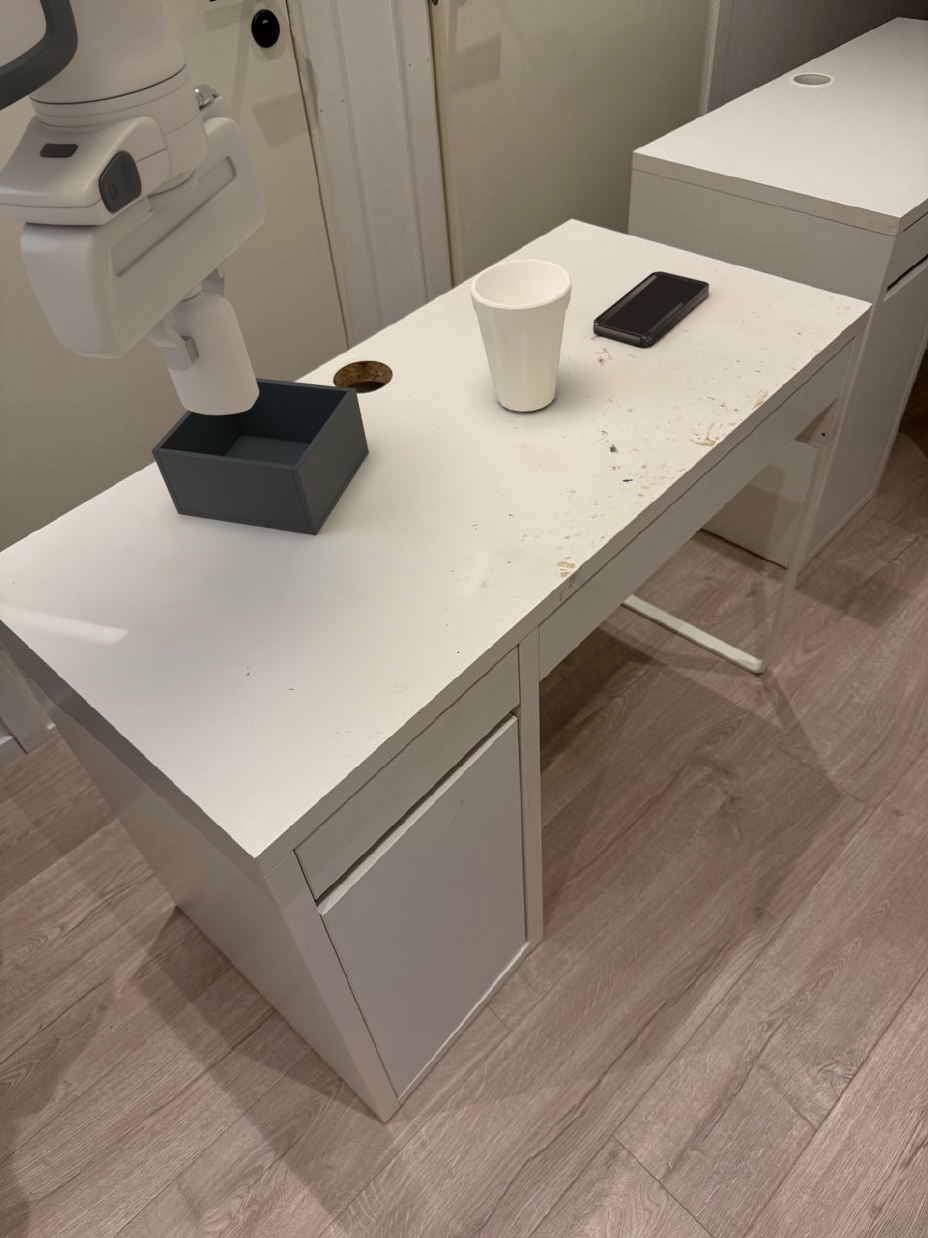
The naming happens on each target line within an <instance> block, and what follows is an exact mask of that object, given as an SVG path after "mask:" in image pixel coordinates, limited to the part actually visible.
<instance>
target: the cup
mask: <svg viewBox="0 0 928 1238" xmlns="http://www.w3.org/2000/svg"><path fill="white" fill-rule="evenodd" d="M572 287H573V283H572V275H571V274H570V273H569V272H568V271H567V270H565V268H563V266H561V265H558V264H555V263H553V262H550V261H547V260H539V259H531V258H530V259H529V258H528V259H515V260H509V261H505V262H501V263H497V264H493V265H492V266H489V267H488V268H486V269H484V270H482V271H480V272H479V273H478V274H477V276H475V278H474V279H473V280H472V281H471V282H470V290H469V291H470V297H471V298H470V299H471V302H472V307H473V310H474V312H475V314H476V318H477V322H478V326H479V331H480V334H481V339H482V342H483V347H484V350H485V355H486V359H487V362H488V366H489V371H490V375H491V379H492V383H493V387H494V391H495V395H496V400H497V402H498V403H499V404H500V405H501V406H502V407H504V408H506V409H508V410H509V411H515V412H534V411H537V410H540V409H543V408H545V407H546V406H548V405H549V404H551V403H552V402H553V401H554V399H555V398H556V389H557V381H558V372H559V366H560V357H561V351H562V350H561V349H562V344H563V343H562V342H563V335H564V328H565V320H566V312H567V310H568V308H569V305H570V303H571V297H572Z"/></svg>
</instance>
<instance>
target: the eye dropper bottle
mask: <svg viewBox="0 0 928 1238" xmlns="http://www.w3.org/2000/svg"><path fill="white" fill-rule="evenodd" d="M201 288H202V286H201V283H200V284H198V285H197V286H196V287H195V288H194V289H193V290H192V291H191V292H190V293H189V294H188V295H187V296H186V297H185V298H184V299H183V300H182V301H180V302H179V303H178V304H177V305H176V306H175V307H174V308H173V309H172V311H173V314H174V317H175V320H176V322H175V324H174V325H171V327H172V328H173V329H174V330H175V331H176V332H177V333H178V334H179V336H180V337H182V336H187V337H192V338H193V341H194V344H195V350H196V351H197V352H198V355H199V356H198V359H197V360H196V361H195V362H194V363H193V365H192V366H191V367H190V368H189V369H188V370H187V371H179V370H171V369H170V368H168V367H167V370H168V371H169V375H170V377H171V380H172V383H173V385H174V387H175V390H176V392H177V395H178V398H179V400H180V403H181V405H182V406H183V407H184V409H185V410H186V411H187V410H189V411H192V412H196V413H200V414H206V415H227V414H234V413H240V412H244V411H247V410H249V409H250V408H251V407H252V406H253V405H254V403H255V401H256V400H257V398H258V396H259V389H258V385H257V382H256V379H255V378H256V375H255V373H254V370H253V366H252V364H251V360H250V357H249V354H248V350H247V347H246V344H245V340H244V337H243V334H242V331H241V328H240V325H239V321H238V318H237V316H236V313H235V309H234V307H233V305H232V304H231V302H230V301H229V299H228V300H226V299H225V298H223V297H222V296H220V295H218V294H215V293H213V292H210V291H207V290H204V289H201Z"/></svg>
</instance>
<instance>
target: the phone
mask: <svg viewBox="0 0 928 1238" xmlns="http://www.w3.org/2000/svg"><path fill="white" fill-rule="evenodd" d="M709 291H710V283H708V282H707V281H704V280H700V279H696V278H691V277H687V276H683V275H679V274H675V273H671V272H666V271H653V272H651V273H650V274H648V275H647V276H646V277H645V278H643V279H642V280H641V281H640V282H639V283H638V284H636V285H635V286H633V288H631V289H630V290H629V291H628V292H627V293H625V294H624V295H622V297H620V298H619V299H618V300H617V301H615V302H614V303H613V304H611V306H609V307H608V308H607V309H605V310H604V311H603V312H602V313H601V314H599V315H597V317H596V318H595V319H593V324H592V325H593V329H592V330H593V333H595V335H598V336H602V337H605V338H608V339H613V340H616V341H619V342H623V343H625V344H629V345H633V346H637V347H641V348H648V347H651V346H653V345H655V343H657V341H659V340H660V339H662V337H663V336H664V335H666V334H667V333H668V332H669V331H670V330H671V329H673V327H675V326H676V325H677V324H678V323H679V322H680V321H681V320H683V318H685V317H686V316H687V315H688V314H689V313H690V312H691V311H692V310H694V309H695V308H696V307H698V305H699V304H700V303H702V302H703V301H704V300H705V299H706V298H707V297H708V296H709Z"/></svg>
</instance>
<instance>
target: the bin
mask: <svg viewBox="0 0 928 1238" xmlns="http://www.w3.org/2000/svg"><path fill="white" fill-rule="evenodd" d="M255 379H256V382H257V385H258V389H259V396H258V398H257V400H256V401H255V403H254V405H253V406H252V407H251V408H250V409H249V410H247V411H244V412H240V413H234V414H227V415H206V414H200V413H196V412H192V411H189V410H187V409H186V411H185V413H183V415H182V416H181V417H180V418H179V419H178V420H177V421H176V423H175V424H174V425H173V426H172V427H171V428H170V429H169V430H168V431H167V432H166V433H165V435H164V436H162V438H161V439H160V441H158V443H157V444H156V445H155V446H154V447H153V448H152V449H151V454H152V456H153V459H154V460H155V463H156V465H157V468H158V470H159V473H160V475H161V477H162V479H163V482H164V484H165V486H166V489H167V492H168V494H169V496H170V499H171V501H172V502H173V506H174V508H175V510H176V512H177V514H180V515H185V516H191V517H197V518H203V519H212V520H215V521H216V520H217V521H222V522H223V521H224V522H230V523H236V524H242V525H243V524H244V525H249V526H255V527H262V528H267V529H268V528H269V529H275V530H280V531H281V530H282V531H288V532H293V533H300V534H306V535H311V536H312V535H313V536H317V534H318V533H319V531H320V529H321V528H322V527H323V525H324V523H325V522H326V520H327V519H328V518H329V516H330V514H331V512H332V511H333V510H334V508H335V506H336V504H337V503H338V501H339V500H340V498H341V497H342V495H344V494H343V493H344V492H345V491H346V489H347V487H348V485H349V484H350V483H351V481H352V480H353V478H354V477H355V475H356V473H357V472H358V470H359V468H360V467H361V465H362V464H363V462H364V461H365V459H366V458H367V456H368V454H369V453H370V450H369V445H368V440H367V436H366V432H365V427H364V422H363V421H364V420H363V417H362V413H361V407H360V403H359V397H358V393H357V389H356V387H347V386H337V385H336V386H335V385H326V384H317V383H308V382H297V381H288V380H279V379H269V378H261V377H260V378H259V377H255Z"/></svg>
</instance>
